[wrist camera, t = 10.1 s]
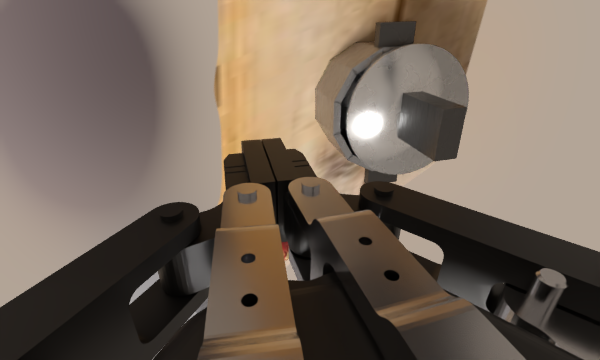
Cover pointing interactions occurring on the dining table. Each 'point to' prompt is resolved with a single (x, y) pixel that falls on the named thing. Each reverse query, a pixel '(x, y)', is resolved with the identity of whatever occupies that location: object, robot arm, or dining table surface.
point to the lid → (408, 109)
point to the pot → (342, 80)
